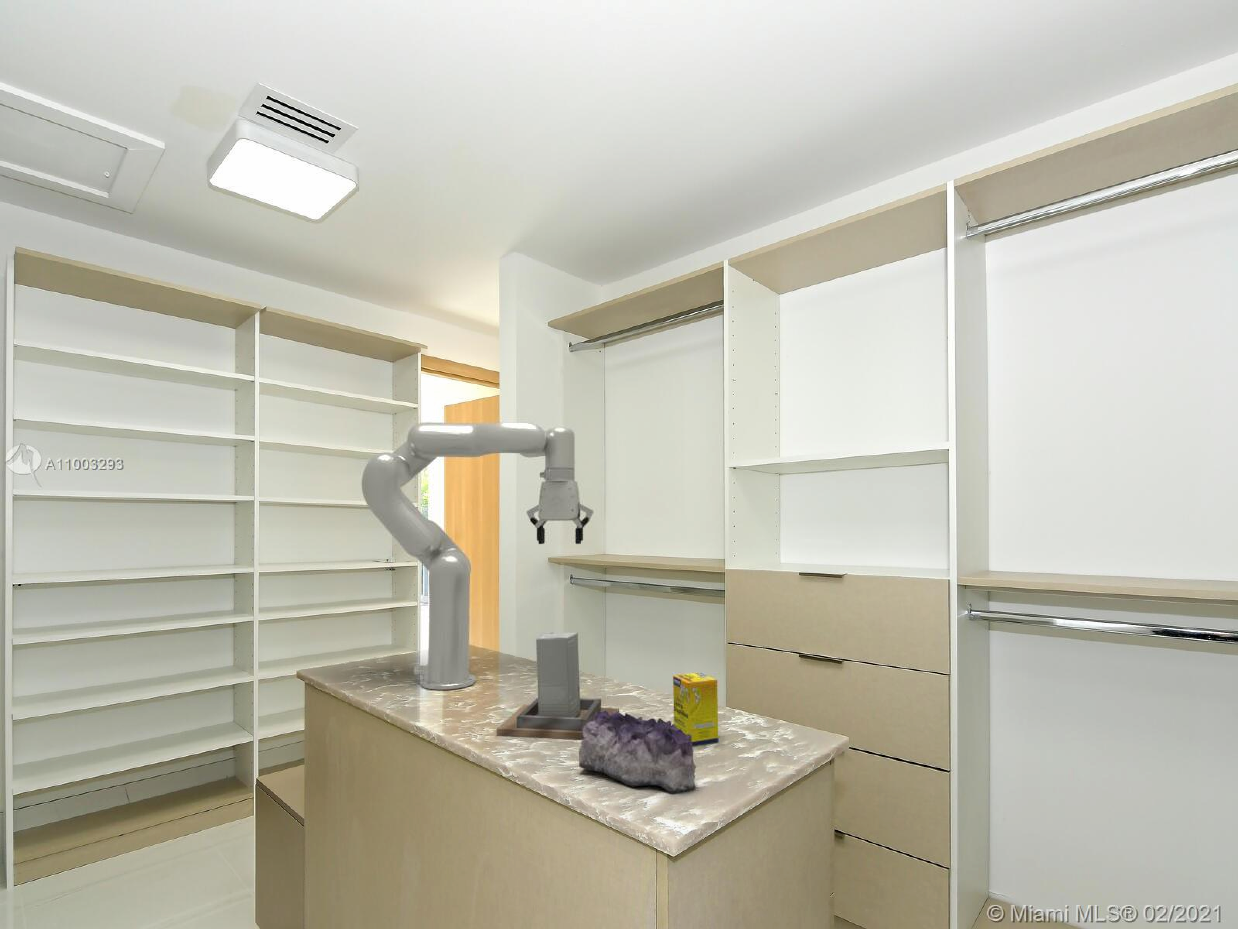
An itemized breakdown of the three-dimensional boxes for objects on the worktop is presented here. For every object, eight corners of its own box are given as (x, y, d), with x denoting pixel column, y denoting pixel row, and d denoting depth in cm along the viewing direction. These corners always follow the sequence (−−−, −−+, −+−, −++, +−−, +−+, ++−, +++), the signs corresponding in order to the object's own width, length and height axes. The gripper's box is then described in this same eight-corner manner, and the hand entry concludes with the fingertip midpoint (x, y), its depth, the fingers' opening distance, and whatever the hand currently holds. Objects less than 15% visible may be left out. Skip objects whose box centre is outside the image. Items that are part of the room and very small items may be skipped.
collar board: (496, 735, 119) (496, 717, 120) (523, 710, 135) (523, 694, 135) (604, 741, 116) (604, 722, 116) (619, 714, 132) (619, 698, 132)
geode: (716, 776, 100) (713, 712, 100) (677, 814, 91) (674, 743, 90) (610, 745, 112) (607, 687, 112) (566, 775, 103) (562, 713, 102)
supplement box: (672, 737, 118) (672, 675, 119) (701, 732, 120) (700, 671, 121) (689, 747, 112) (688, 682, 113) (719, 742, 115) (717, 678, 116)
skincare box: (570, 725, 121) (570, 638, 122) (533, 723, 122) (534, 637, 124) (582, 712, 129) (582, 630, 131) (547, 710, 131) (547, 629, 132)
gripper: (522, 476, 165) (522, 544, 164) (589, 474, 162) (589, 544, 160) (532, 478, 172) (531, 543, 171) (596, 476, 169) (596, 543, 168)
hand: (559, 543), depth 166 cm, fingers open, 9 cm apart
